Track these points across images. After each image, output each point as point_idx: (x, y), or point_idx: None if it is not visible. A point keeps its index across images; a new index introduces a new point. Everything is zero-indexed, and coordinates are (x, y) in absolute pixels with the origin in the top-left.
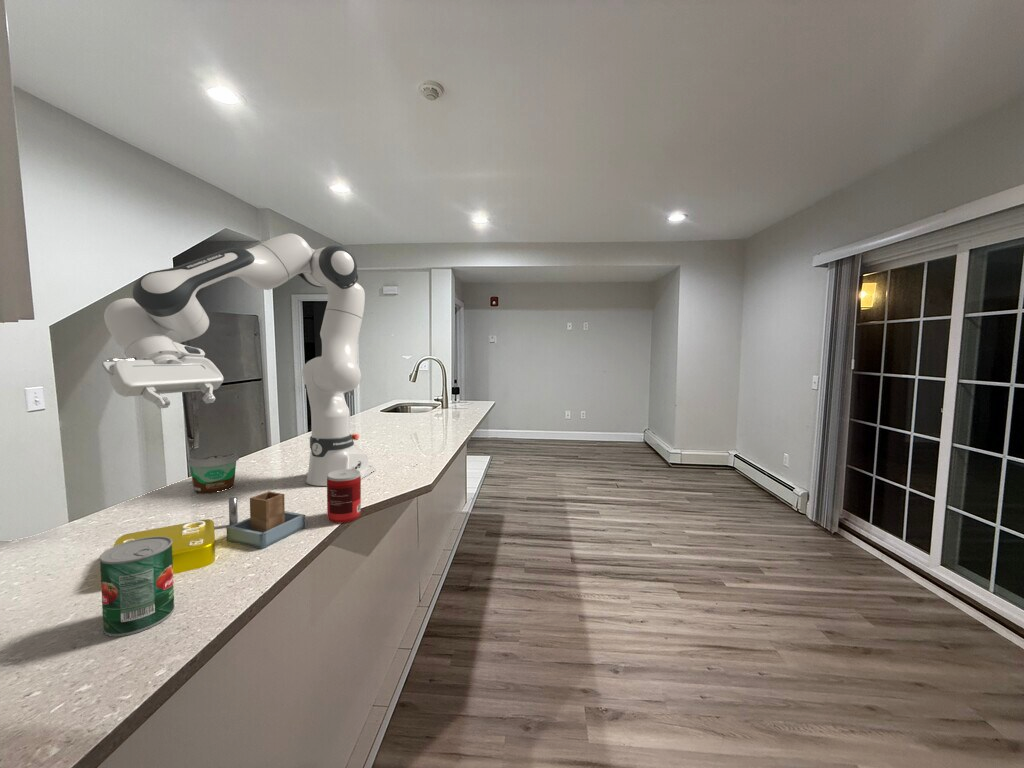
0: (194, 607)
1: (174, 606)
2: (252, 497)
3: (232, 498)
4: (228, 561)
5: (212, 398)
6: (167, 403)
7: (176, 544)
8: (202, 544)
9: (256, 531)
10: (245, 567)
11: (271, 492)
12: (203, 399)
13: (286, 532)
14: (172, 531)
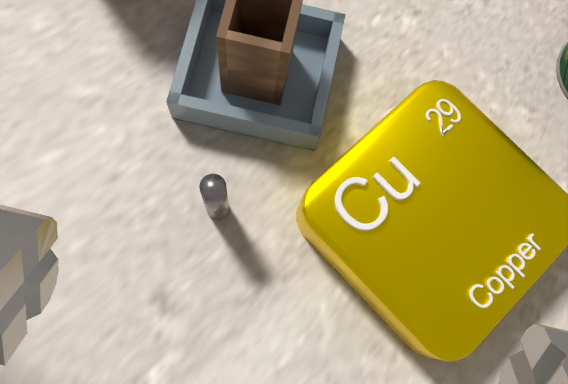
0: (553, 14)
1: (566, 43)
2: (282, 49)
3: (217, 184)
4: (404, 71)
5: (2, 208)
6: (564, 332)
7: (462, 156)
8: (446, 95)
9: (329, 41)
10: (418, 19)
11: (225, 20)
12: (21, 332)
13: None
14: (401, 236)
